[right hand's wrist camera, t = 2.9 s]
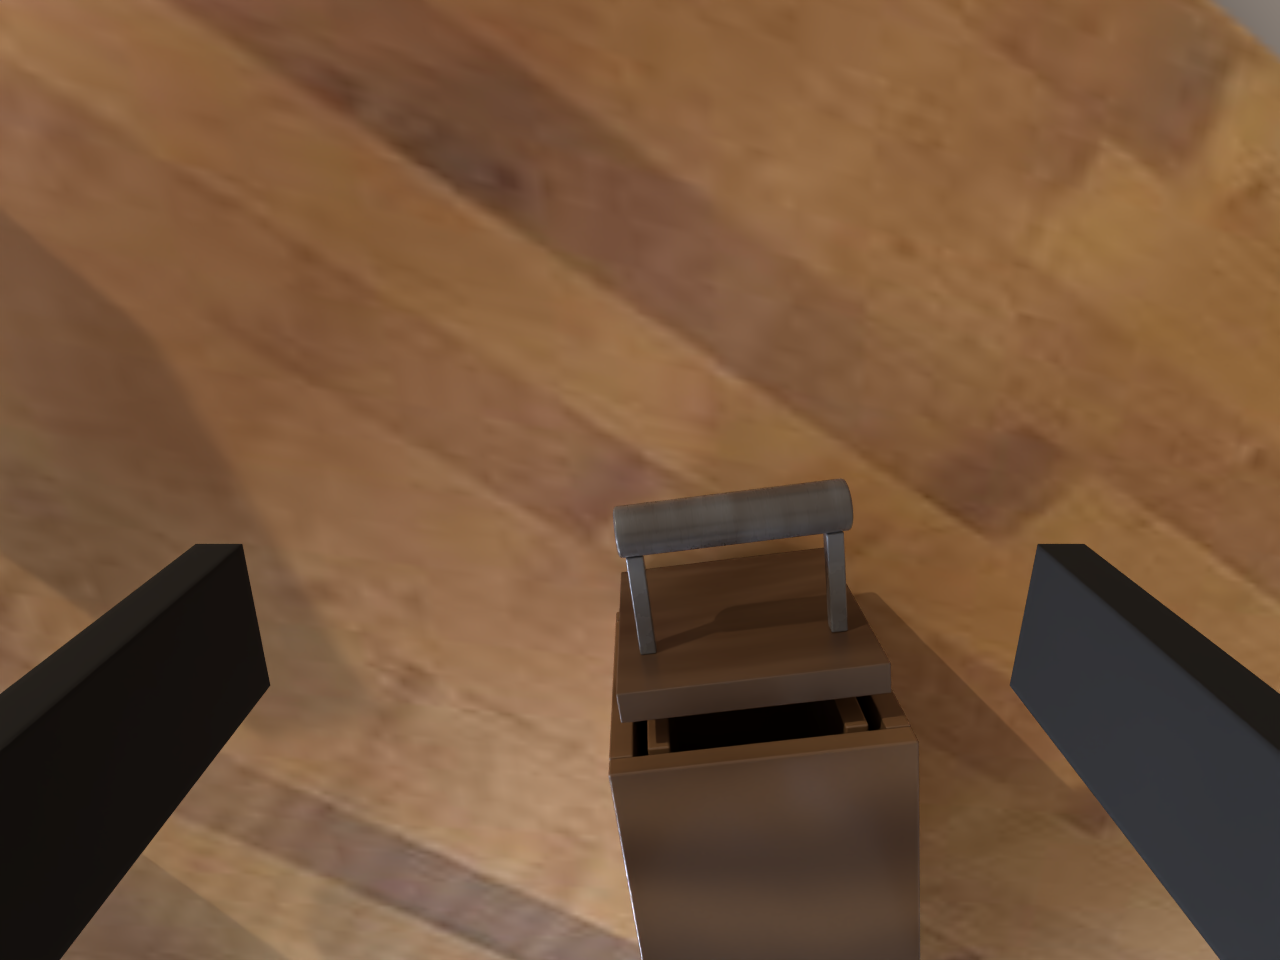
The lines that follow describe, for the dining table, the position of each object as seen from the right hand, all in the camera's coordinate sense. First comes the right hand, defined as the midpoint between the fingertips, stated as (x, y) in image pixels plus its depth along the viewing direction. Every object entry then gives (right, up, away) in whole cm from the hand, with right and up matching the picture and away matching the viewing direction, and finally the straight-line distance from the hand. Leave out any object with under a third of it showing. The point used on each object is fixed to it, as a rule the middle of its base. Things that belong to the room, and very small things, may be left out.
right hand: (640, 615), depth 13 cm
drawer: (+5, -7, +23) cm, 24 cm away
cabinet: (+5, -12, +26) cm, 29 cm away
